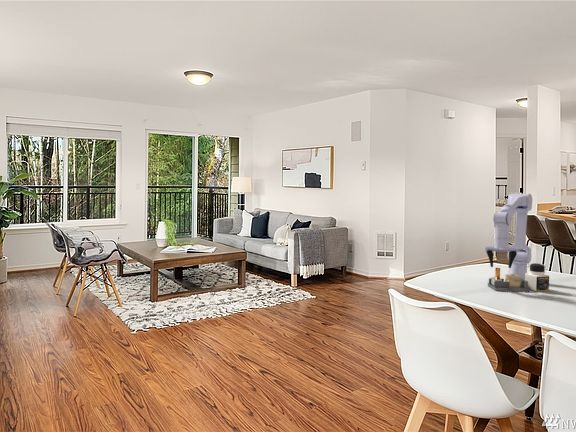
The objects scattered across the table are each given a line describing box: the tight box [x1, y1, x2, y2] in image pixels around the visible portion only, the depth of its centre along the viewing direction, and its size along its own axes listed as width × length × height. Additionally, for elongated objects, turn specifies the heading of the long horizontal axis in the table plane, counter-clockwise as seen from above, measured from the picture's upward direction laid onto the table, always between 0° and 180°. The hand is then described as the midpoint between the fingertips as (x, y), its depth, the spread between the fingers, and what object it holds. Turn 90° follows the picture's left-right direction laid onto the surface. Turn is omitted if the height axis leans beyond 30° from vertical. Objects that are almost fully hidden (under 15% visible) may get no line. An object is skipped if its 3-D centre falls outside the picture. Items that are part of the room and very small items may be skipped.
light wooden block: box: [504, 273, 520, 287], centre depth 208 cm, size 4×5×5 cm
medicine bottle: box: [525, 262, 550, 293], centre depth 207 cm, size 7×7×12 cm
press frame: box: [487, 277, 530, 293], centre depth 209 cm, size 10×14×4 cm
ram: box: [490, 267, 503, 285], centre depth 209 cm, size 5×3×8 cm, turn 175°
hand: (500, 267), depth 207 cm, fingers open, 7 cm apart
